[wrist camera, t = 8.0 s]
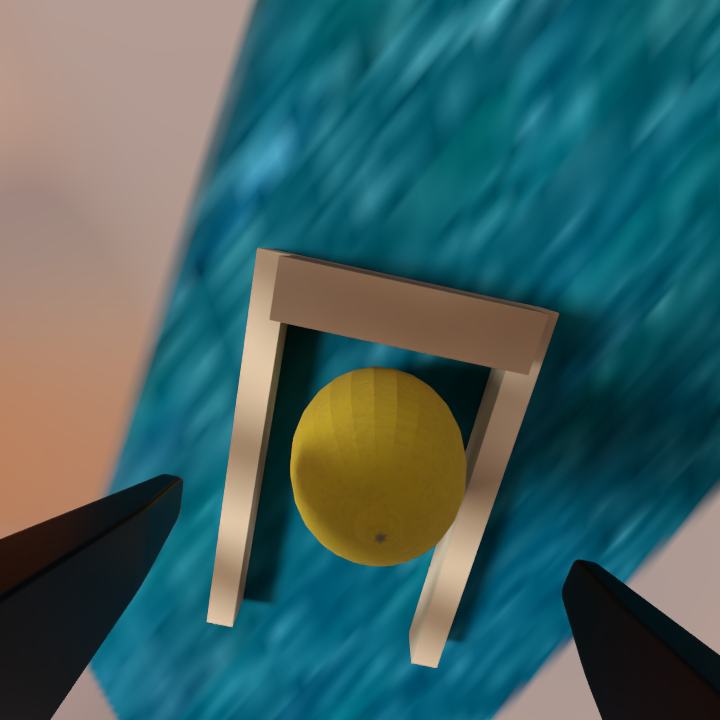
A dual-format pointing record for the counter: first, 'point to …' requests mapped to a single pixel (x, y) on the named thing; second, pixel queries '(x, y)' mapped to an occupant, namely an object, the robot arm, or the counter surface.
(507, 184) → the counter surface
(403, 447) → the lemon
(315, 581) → the counter surface
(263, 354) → the channel
